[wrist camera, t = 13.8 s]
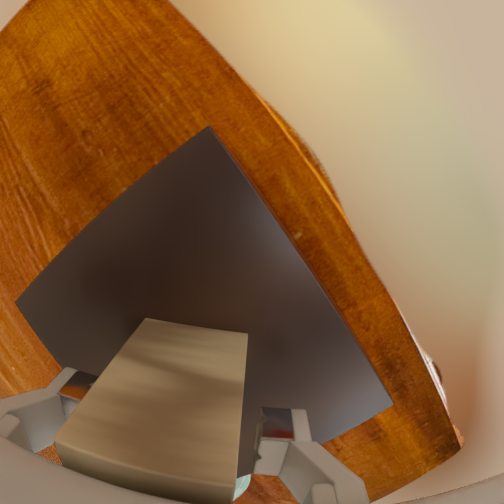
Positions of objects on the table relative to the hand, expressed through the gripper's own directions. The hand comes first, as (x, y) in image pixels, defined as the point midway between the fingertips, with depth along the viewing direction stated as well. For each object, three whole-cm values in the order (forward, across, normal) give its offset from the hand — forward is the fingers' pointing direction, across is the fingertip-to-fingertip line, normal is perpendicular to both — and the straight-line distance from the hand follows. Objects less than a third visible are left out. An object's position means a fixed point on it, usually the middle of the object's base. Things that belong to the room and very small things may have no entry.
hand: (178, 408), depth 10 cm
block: (+3, 0, 0) cm, 3 cm away
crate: (+13, 0, 0) cm, 13 cm away
